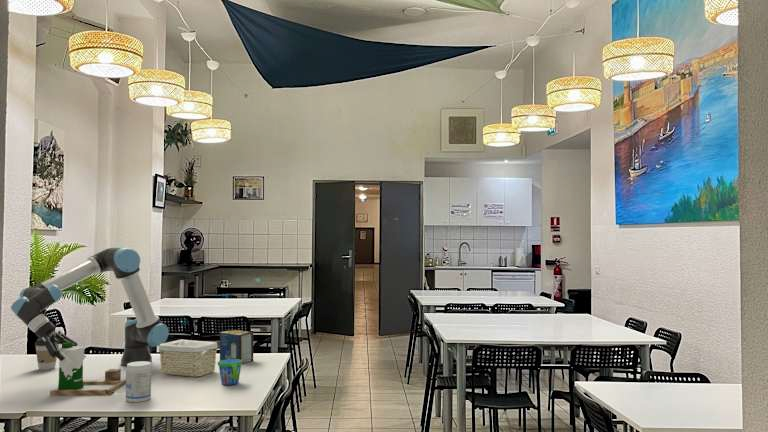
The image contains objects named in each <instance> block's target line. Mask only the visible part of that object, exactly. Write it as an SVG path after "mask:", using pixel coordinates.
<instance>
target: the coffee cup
mask: <svg viewBox="0 0 768 432" xmlns="http://www.w3.org/2000/svg"><path fill="white" fill-rule="evenodd" d="M57 345H58V347H60V346H59V345H60V344H57ZM34 346H35V352H36V359H37V360H36V361H37V367H38V370H39V371H51V370H54V369H56V366H57V365H56V364H57V359H58V358H57V357H56V356H55V357H54V358H53V357H52V356H51V355H50V354H49V352H48V350H47V348H46V347H45V345H44V343H43V342H42V341H41V339H40V338H37V339H36V342H34ZM50 369H51V370H50Z"/></svg>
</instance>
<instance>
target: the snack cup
mask: <svg viewBox="0 0 768 432" xmlns="http://www.w3.org/2000/svg"><path fill="white" fill-rule="evenodd" d="M242 364H243V363H242V360H239V359H227V360H221V361H220V360H219V361H218V362H217V365H218V369H219V376H220V382H221V385H223V384H224V386H232V385H231V384H234V385H237V384H239V381H240V375H241V369H242Z"/></svg>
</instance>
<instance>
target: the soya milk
mask: <svg viewBox="0 0 768 432" xmlns="http://www.w3.org/2000/svg"><path fill="white" fill-rule="evenodd" d="M58 348H59V351H60V352H63V353H64V354H65V355H66V356H67V357H68V358H69V359H70V360H71V361H72V363H71V364H70V365H69V366H68V367H66V366H65V365H64V364H63V363H62V362H61V361H60V360H59V359H58V385H57V390H81V389H82V388H84V385H83V380H84V374H83V373H84V359H83V355H84V354H85V348H86V346H81V345H77V346H72V342H64V343H62V344H61V347H58Z"/></svg>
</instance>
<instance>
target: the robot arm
mask: <svg viewBox="0 0 768 432" xmlns="http://www.w3.org/2000/svg"><path fill="white" fill-rule="evenodd" d="M140 264H141V257H140V254H139V253H138V252H137V251H136V250H135V249H133V248H129V247H108V248H105V249H103V250H102V251H99V252H97V253H95V254H93V255H91V256H89V257H87V259H86V260H85V261H84V262H81V263H79V264H78V265H75V266H73V267H70V268H69V269H67V270H66V271H63V272H61V273H59V274H57V275H55V276H52V277H50V278H49V279H46V280H44V281H42V282H41V283H39V284H36V285H34V286H29V287H25V288H23V289H22V290H21V291H20V293H19V298H17V299H16V300H15V301H14V302H13V303H12V304H11V306H10V310H11V311H12V312H13V313H14V315H15V316H16V317H17V318H18V319H20V321H22V323H24V325H26V326H27V328H29V331H32V332H33V333H35V336H37V337H38V339H41V341H42V342H43V343H44V345H45V347H46V348H47V350H48V352H49V354H50V355H51V356H52V357H53V358H54V357H55V356H56V357H57V359H58V361H59V360H60V361H61V362H62V363H63V364H64V365H65V366H66V367H68V366H69V365H70V364H71V363H72V361H71V360H70V359H69V358H68V357H67V356H66V355H65V354H64V353H63V352H60V351H59V348H60V347H59V346H58V345H57V344H59V345H62V343H64V342H72V346H79V344H78V343H77V342H76V341H75V340H73V339H71V338H70V337H69V336H67V335H66V334H64V333H63V332H62V331H61V330H58V331H55V330H56V326H55V324H54V323H53V322H51V321H50V319H49V318H48V317H47V316H45V314H44V313H43V311H45V310H46V309H48V308H49V307H50V306H53V304H55V303H56V302H58V301H59V300H60V299H62V298H63V292H62V291H64V290H66V289H68V288H70V287H72V286H74V285H76V284H78V283H80V282H82V281H84V280H86V279H88V278H90V277H91V276H94V275H97V276H98V275H100V274H102V273H105V272H113V273H114V276H115V278H116V279H117V280H119V281H121V285H122V286H123V289H124V291H125V294H126V296H127V299H128V301H129V303H130V306H131V309H132V311H133V313H134V314H133V315H135V318H136V319H132V320H131V319H130V320H126V321H125V323H124V351H123V353H122V356H121V360H120V365H121V366H124V367H125V366H126V367H127V364H128V363H131V362H138V361H147V362H151V364H152V362H153V357H152V354H151V351H150V348H149V347H160V344H164V343H166V342H167V339H168V337H169V333H170V332H169V327H168V326H167V325H166V324H165V323H162V322H161V321H162V320H161V318H160V317H159V315H156V314H155V312H154V309H153V308H152V305H151V302H150V300H149V297H148V295H147V292H146V289H145V288H144V285H143V282H142V280H141V278H140V275H139V273H140V272H141V269H140ZM86 357H87V355H86V354H85V353H84V355H83V360H85V358H86Z"/></svg>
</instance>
